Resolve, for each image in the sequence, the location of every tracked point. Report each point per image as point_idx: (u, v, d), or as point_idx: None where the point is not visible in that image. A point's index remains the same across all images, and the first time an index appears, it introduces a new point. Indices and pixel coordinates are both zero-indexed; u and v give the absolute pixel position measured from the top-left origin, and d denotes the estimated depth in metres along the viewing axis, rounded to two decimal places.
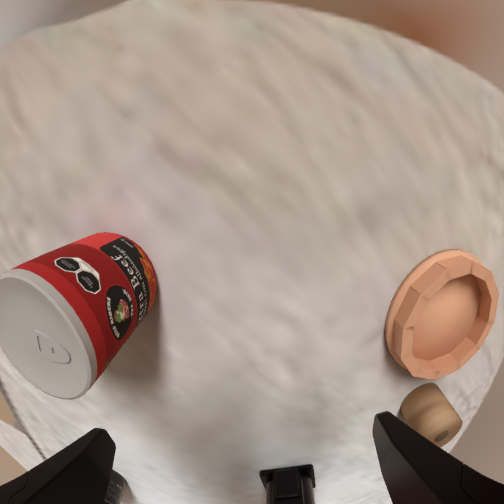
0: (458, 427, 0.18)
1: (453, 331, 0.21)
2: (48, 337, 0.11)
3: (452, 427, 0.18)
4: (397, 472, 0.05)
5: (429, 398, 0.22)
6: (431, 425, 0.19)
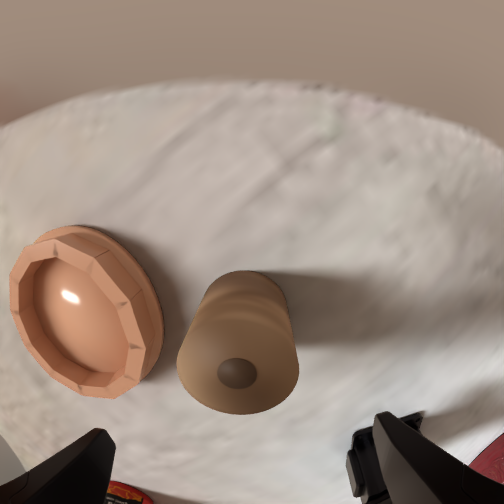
0: (223, 331, 0.10)
1: (95, 297, 0.16)
2: None
3: (213, 353, 0.11)
4: (397, 472, 0.05)
5: None
6: None
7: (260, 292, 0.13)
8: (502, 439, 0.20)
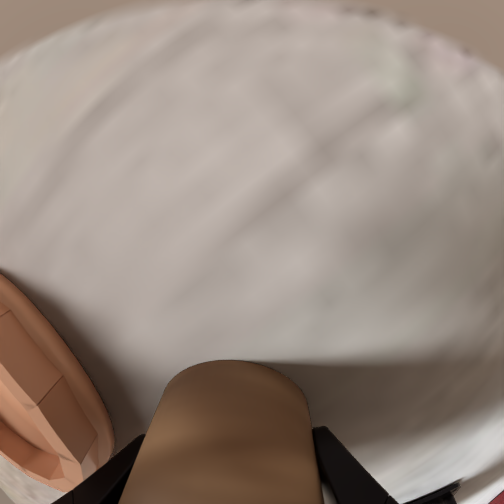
0: None
1: None
2: None
3: None
4: (325, 491, 0.05)
5: None
6: None
7: (262, 436, 0.05)
8: None
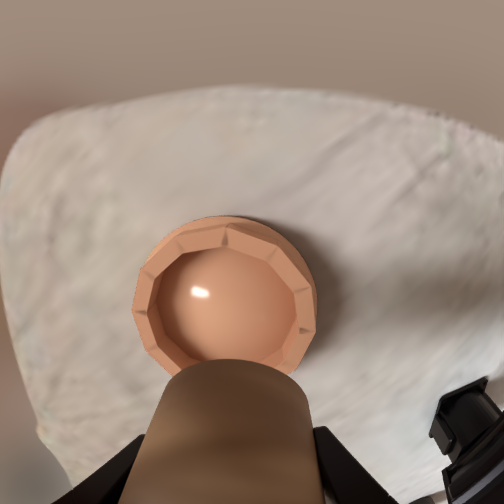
0: None
1: (250, 288, 0.18)
2: None
3: None
4: (325, 491, 0.05)
5: None
6: None
7: (263, 435, 0.05)
8: None
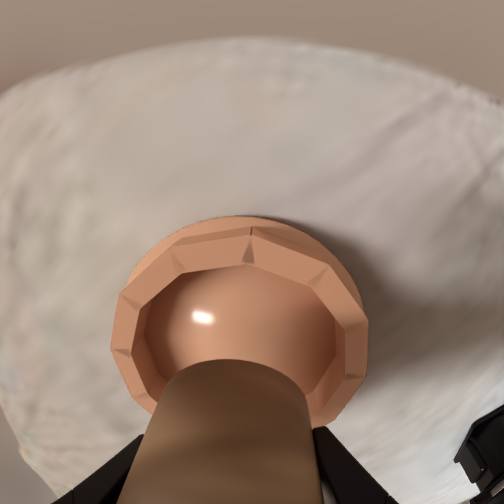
0: None
1: (277, 320, 0.13)
2: None
3: None
4: (325, 491, 0.05)
5: None
6: None
7: (262, 435, 0.05)
8: None
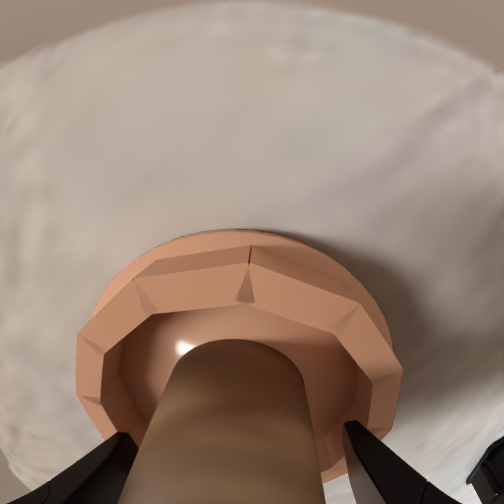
0: None
1: None
2: None
3: None
4: (361, 483, 0.05)
5: None
6: None
7: (263, 401, 0.06)
8: None
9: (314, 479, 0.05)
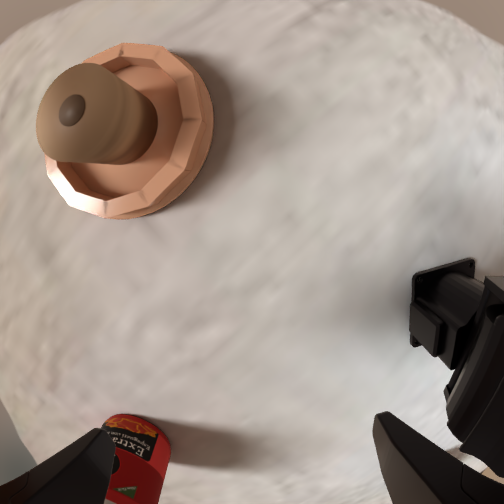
0: (67, 75, 0.10)
1: None
2: None
3: (59, 96, 0.10)
4: (397, 472, 0.05)
5: None
6: None
7: None
8: None
9: (120, 80, 0.11)
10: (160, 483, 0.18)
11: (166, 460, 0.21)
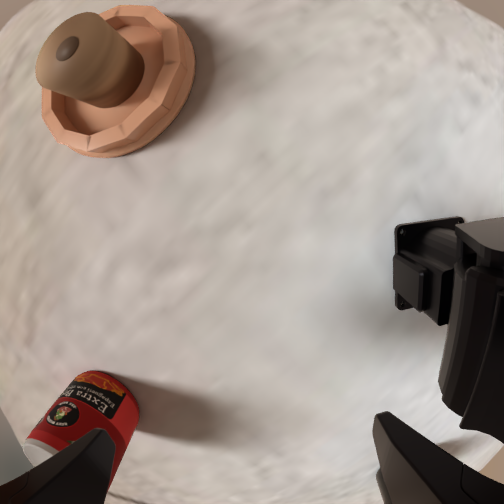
0: (67, 23, 0.09)
1: None
2: None
3: (58, 39, 0.10)
4: (397, 472, 0.05)
5: None
6: None
7: None
8: None
9: (111, 26, 0.11)
10: (121, 446, 0.18)
11: (132, 423, 0.21)
